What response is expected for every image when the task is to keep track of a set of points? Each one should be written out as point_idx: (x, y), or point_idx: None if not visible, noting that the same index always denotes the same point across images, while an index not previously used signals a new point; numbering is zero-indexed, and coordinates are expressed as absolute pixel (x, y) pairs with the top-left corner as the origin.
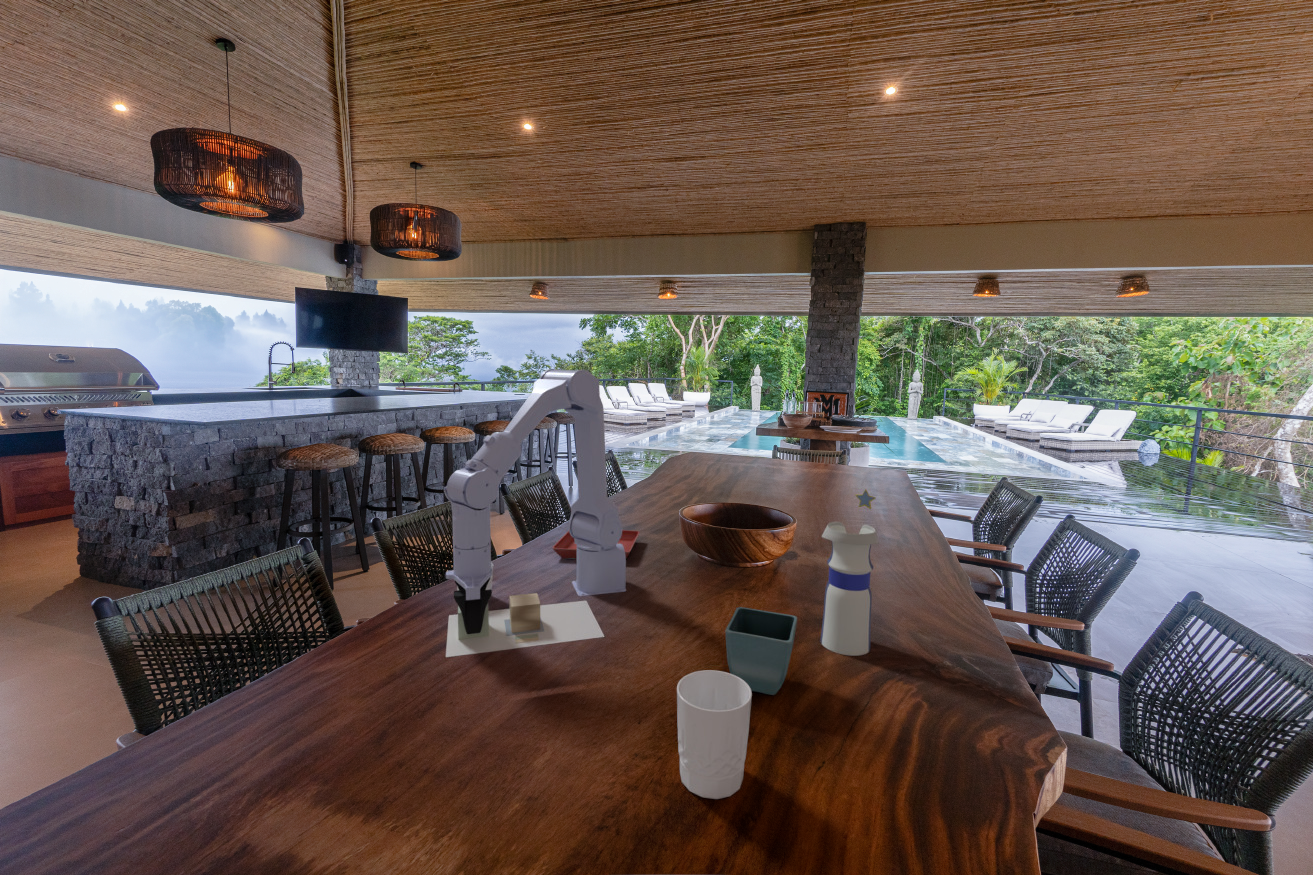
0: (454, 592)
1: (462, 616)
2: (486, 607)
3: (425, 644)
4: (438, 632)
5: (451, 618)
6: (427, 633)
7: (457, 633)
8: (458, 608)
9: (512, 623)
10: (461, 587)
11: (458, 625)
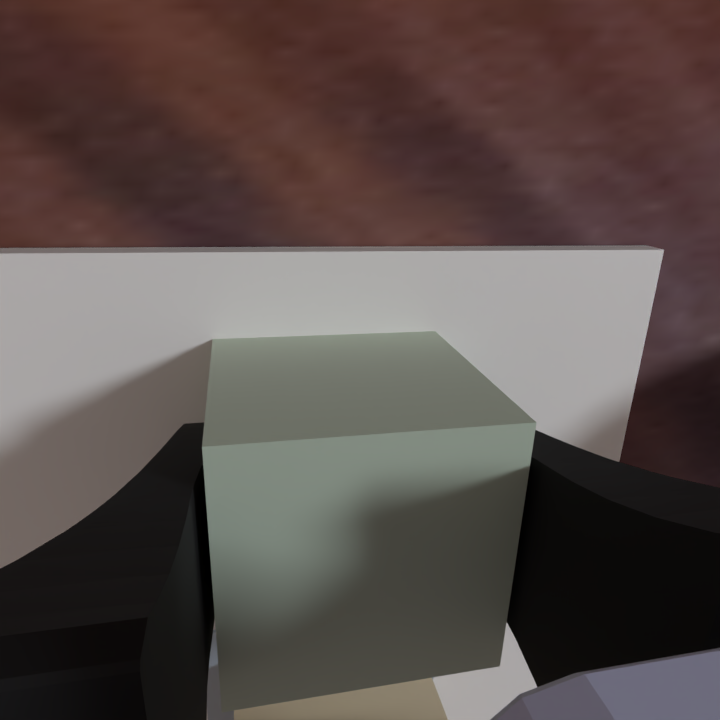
0: (9, 696)
1: (115, 494)
2: (285, 687)
3: (258, 69)
4: (447, 173)
5: (601, 271)
6: (459, 83)
7: (325, 326)
8: (338, 440)
9: (235, 717)
10: (643, 556)
11: (209, 387)
